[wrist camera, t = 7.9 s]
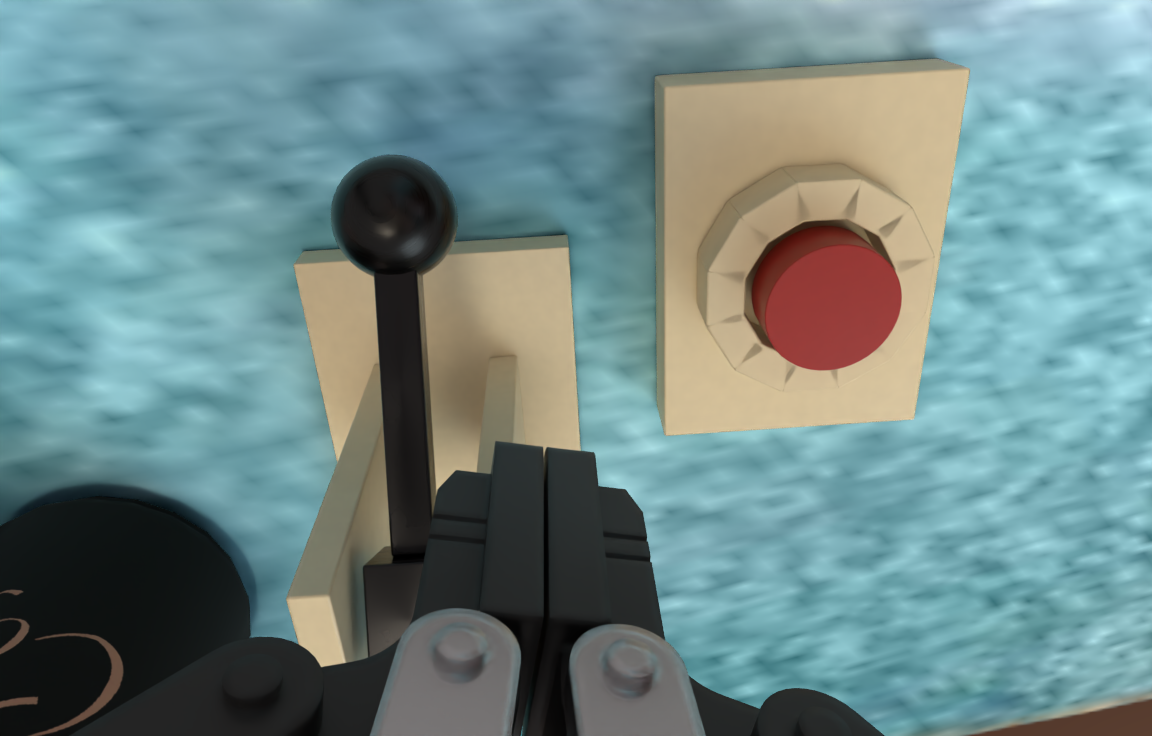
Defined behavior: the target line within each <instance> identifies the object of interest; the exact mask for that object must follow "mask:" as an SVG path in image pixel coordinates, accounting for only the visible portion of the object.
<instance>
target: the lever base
mask: <svg viewBox="0 0 1152 736" xmlns="http://www.w3.org/2000/svg"><path fill="white" fill-rule="evenodd" d="M294 270H295V274H296V279H297V283H298V288H299V292H300V297H301V301H302V306H303V310H304V315H305V319H306V324H307V328H308V333H309V337H310V342H311V346H312V351H313V355H314V360H315V364H316V369H317V373H318V378H319V382H320V387H321V391H322V396H323V400H324V405H325V409H326V414H327V418H328V423H329V427H330V432H331V436H332V441H333V445H334V450H335V454H336V459H337V465H336V467H335V470H334V473H333V475H332V478H331V481H330V483H329V486H328V489H327V491H326V494H325V497H324V499H323V502H322V505H321V507H320V510H319V513H318V515H317V518H316V521H315V523H314V526H313V529H312V531H311V534H310V537H309V539H308V542H307V544H306V547H305V550H304V552H303V555H302V558H301V560H300V563H299V566H298V568H297V571H296V574H295V576H294V579H293V582H292V584H291V587H290V590H289V592H288V595H287V598H286V600H287V604H288V607H289V611H290V615H291V618H292V622H293V625H294V629H295V633H296V637H297V639H298V643H299V645H301V646H302V647H304V648H305V649H307V650H308V651H309V652H310V653H311V654H312V655H313V656H314V657H315V658H316V659H317V661H318V662H319V664H320V666H321V667H324V666H330V665H336V664H341V663H347V662H352V661H357V660H361V659H365V658H367V657H368V649H367V633H366V616H365V600H364V584H363V566H364V565H365V564H366V563H367V562H368V561H369V560H370V559H371V558H373V557H374V556H375V555H376V554H377V553H378V552H379V551H380V550H381V549H382V548H383V547H385V546H391V545H390V529H389V513H388V497H387V480H386V464H385V448H384V432H383V416H382V400H381V384H380V368H379V352H378V336H377V320H376V303H375V287H374V277H373V276H371V275H368V274H366V273H365V272H363V271H361V270H360V269H358V268H357V267H356V266H354V265H353V264H352V263H351V262H350V261H349V260H348V259H347V258H346V257H345V255H344V254H343V253H342V251H341V250H340V249H332V250H316V251H303V252H302V254H301V255H300V256H299V258H298V259H297V260H296V262H295V263H294ZM423 286H424V302H425V318H426V334H427V350H428V366H429V382H430V398H431V413H432V429H433V445H434V461H435V477H436V493H437V490H438V488H439V487H440V486H441V485H442V484H443V483H444V482H445V481H446V480H447V479H448V478H449V477H450V476H451V475H452V474H453V473H454V471H455V470H461V471H469V472H478V473H487V474H491V467H492V460H493V453H494V446H495V441H501V442H509V443H517V444H526V445H534V446H542V447H543V452H544V454H545V450H546V447H552V448H560V449H569V450H577V451H581V448H580V431H579V414H578V397H577V379H576V362H575V345H574V327H573V310H572V293H571V276H570V258H569V244H568V236H567V235H555V236H539V237H523V238H507V239H491V240H475V241H459V242H454V243H453V245H452V247H451V249H450V251H449V252H448V254H447V256H446V257H445V258H444V259H443V261H442V262H441V263H440V264H439V265H438V266H436V267H435V268H434V269H432V270H431V271H429V272H428V273H426V274H424V275H423Z"/></svg>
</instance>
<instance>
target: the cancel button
mask: <svg viewBox="0 0 1152 736" xmlns="http://www.w3.org/2000/svg"><path fill="white" fill-rule="evenodd" d="M901 302H902V292H901V286H900V281H899V279H898V276H897V274H896V272H895V270H894V269H893V267H892V266H891V264H890V263H889V262H888V261H887V260H886V259H885V258H884V257H883V256H882V255H881V254H880V253H879V252H877V251H876V250H875V249H874V248H873V247H872V246H871V245H870V244H869V243H868V242H867V241H866V240H864V239H863V238H862V237H861V236H859V235H858V234H856V233H855V232H852V231H850V230H848V229H845V228H841V227H836V226H815V227H810V228H806V229H803V230H800V231H798V232H795V233H793V234H791V235H789V236H787V237H786V238H784V239H783V240H782V241H780V242H779V243H778V244H777V245H775V246H774V247H773V248H772V249H771V250H770V251H769V252H768V254H767V255H766V256H765V258H764V259H763V260H762V262H761V264H760V265H759V267H758V269H757V272H756V274H755V277H754V281H753V284H752V305H753V309H754V312H755V315H756V317H757V319H758V321H759V323H760V325H761V326H762V328H763V330H764V332H765V333H766V335H767V337H768V339H769V340H770V342H771V344H772V345H773V347H774V348H775V350H776V351H777V352H778V353H779V354H780V355H781V356H782V357H783V358H785V359H786V360H787V361H789V362H791V363H793V364H794V365H797V366H799V367H802V368H806V369H810V370H818V371H823V370H835V369H840V368H844V367H847V366H850V365H853V364H855V363H857V362H859V361H861V360H863V359H864V358H866V357H867V356H869V355H870V354H872V353H873V352H874V351H875V350H876V349H878V348H879V347H880V346H881V345H882V344H883V342H884V341H885V340H886V339H887V338H888V336H889V335H890V333H891V332H892V330H893V328H894V326H895V324H896V322H897V320H898V317H899V314H900V309H901Z"/></svg>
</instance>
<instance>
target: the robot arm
mask: <svg viewBox="0 0 1152 736" xmlns="http://www.w3.org/2000/svg"><path fill="white" fill-rule="evenodd" d="M522 725H523V729H522ZM521 730H522V736H884V735H883V734H882V733H881V732H879V731H878V730H877V729H876V728H875V727H873V726H872V725H871V724H870V723H869V722H867V721H866V720H865V719H864V718H863V717H861V716H860V715H859V714H858V713H856V712H855V711H854V710H853V709H851V708H850V707H849V706H847V705H846V704H844V703H843V702H841V701H839V700H837V699H836V698H833V697H831V696H829V695H827V694H824V693H821V692H818V691H815V690H809V689H801V688H792V689H785V690H782V691H778V692H776V693H774V694H773V695H771V696H770V697H769V698H768V699H766V700H765V702H764V703H763V705H762V706H761V708H760V709H758V708H756V707H753V706H750V705H748V704H745V703H742V702H739V701H737V700H734V699H731V698H729V697H726V696H723V695H721V694H718V693H716V692H714V691H711V690H710V689H708V688H706V687H704V686H702V685H701V684H699V683H698V682H697V681H695V680H694V679H692V678H691V677H690V676H689V675H688V672H687V669H686V667H685V664H684V662H683V660H682V658H681V657H680V655H679V654H678V653H677V651H676V650H675V649H674V648H673V647H672V646H671V645H670V644H669V643H668V642H666V641H665V637H664V631H663V626H662V620H661V614H660V608H659V603H658V597H657V591H656V585H655V580H654V574H653V568H652V563H651V562H650V551H649V545H648V542H647V534H646V528H645V522H644V517H643V512H642V511H641V509H640V508H639V507H638V505H637V504H636V503H635V501H634V500H633V499H632V498H631V496H630V495H629V494H628V492H627V491H626V490H625V489H617V488H609V487H600V486H598V478H597V468H596V458H595V453H594V452H585V451H577V450H569V449H560V448H552V447H546V450H545V454H544V452H543V447H542V446H534V445H526V444H517V443H509V442H501V441H495V446H494V453H493V460H492V467H491V474H487V473H478V472H469V471H461V470H455V471H454V473H453V474H452V475H451V476H450V477H449V478H448V479H447V480H446V481H445V482H444V483H443V484H442V485H441V486H440V487H439V488H438V490H437V495H436V500H435V505H434V511H433V517H432V521H431V526H430V531H429V538H428V542H427V547H426V552H425V557H424V563H423V568H422V573H421V578H420V584H419V589H418V594H417V599H416V604H415V610H414V614H413V618H412V621H411V623H410V625H409V627H408V628H407V629H406V630H405V632H404V633H403V635H402V636H401V637H400V638H399V639H398V640H397V641H396V642H395V643H394V644H392V645H391V646H390V647H388V648H387V649H385V650H383V651H381V652H379V653H377V654H375V655H373V656H370V657H367V658H365V659H361V660H357V661H352V662H347V663H341V664H336V665H330V666H324V667H321V666H320V664H319V662H318V661H317V659H316V658H315V657H314V656H313V655H312V654H311V653H310V652H309V651H308V650H307V649H305V648H304V647H302V646H301V645H299V644H296V643H294V642H292V641H289V640H285V639H282V638H274V637H254V638H246V639H242V640H238V641H234V642H231V643H229V644H226V645H223V646H221V647H219V648H217V649H215V650H214V651H212V652H210V653H208V654H207V655H205V656H203V657H202V658H200V659H198V660H196V661H195V662H193V663H191V664H190V665H188V666H186V667H185V668H183V669H181V670H180V671H178V672H176V673H175V674H173V675H171V676H169V677H168V678H166V679H164V680H163V681H161V682H159V683H158V684H156V685H154V686H153V687H151V688H149V689H147V690H146V691H144V692H142V693H141V694H139V695H137V696H136V697H134V698H132V699H131V700H129V701H127V702H125V703H124V704H122V705H120V706H119V707H117V708H115V709H114V710H112V711H110V712H109V713H107V714H105V715H104V716H102V717H100V718H98V719H97V720H95V721H93V722H92V723H90V724H88V725H87V726H85V727H83V728H82V729H80V730H78V731H76V732H75V733H73V734H71V735H70V736H520V735H521Z"/></svg>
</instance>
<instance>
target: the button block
mask: <svg viewBox="0 0 1152 736" xmlns="http://www.w3.org/2000/svg"><path fill="white" fill-rule="evenodd" d="M969 74H970V69H969V68H967V67H964V66H961V65H957V64H954V63H951V62H948V61H944V60H941V59H938V58H936V59H920V60H903V61H887V62H870V63H854V64H837V65H820V66H804V67H787V68H771V69H754V70H737V71H721V72H704V73H688V74H671V75H657V76H655V209H656V353H657V407H658V411H659V415H660V419H661V423H662V427H663V431H664V434H665V435H666V436H670V435H685V434H700V433H715V432H730V431H745V430H760V429H775V428H791V427H806V426H821V425H836V424H851V423H866V422H881V421H896V420H911V419H914V416H915V410H916V403H917V397H918V391H919V385H920V378H921V372H922V366H923V360H924V354H925V347H926V341H927V335H928V329H929V323H930V316H931V310H932V304H933V298H934V291H935V285H936V279H937V273H938V267H939V260H940V254H941V248H942V242H943V235H944V229H945V223H946V217H947V211H948V204H949V198H950V192H951V186H952V180H953V173H954V167H955V161H956V155H957V148H958V142H959V136H960V130H961V124H962V117H963V111H964V105H965V99H966V92H967V86H968V80H969ZM815 226H836V227H841V228H845V229H848V230H850V231H852V232H855V233H856V234H858V235H859V236H861V237H862V238H863V239H864V240H866V241H867V242H868V243H869V244H870V245H871V246H872V247H873V248H874V249H875V250H876V251H877V252H879V253H880V254H881V255H882V256H883V257H884V258H885V259H886V260H887V261H888V262H889V263H890V264H891V266H892V267H893V269H894V270H895V272H896V274H897V276H898V279H899V281H900V286H901V292H902V302H901V309H900V314H899V317H898V320H897V322H896V324H895V326H894V328H893V330H892V332H891V333H890V335H889V336H888V338H887V339H886V340H885V341H884V342H883V344H882V345H881V346H880V347H879V348H878V349H876V350H875V351H874V352H873V353H872V354H870V355H869V356H867V357H866V358H864V359H863V360H861V361H859V362H857V363H855V364H853V365H850V366H847V367H844V368H840V369H835V370H823V371H818V370H810V369H806V368H802V367H799V366H797V365H794V364H793V363H791V362H789V361H787V360H786V359H785V358H783V357H782V356H781V355H780V354H779V353H778V352H777V351H776V350H775V348H774V347H773V345H772V344H771V342H770V340H769V339H768V337H767V335H766V333H765V332H764V330H763V328H762V326H761V325H760V323H759V321H758V319H757V317H756V315H755V312H754V309H753V305H752V284H753V281H754V277H755V274H756V272H757V269H758V267H759V265H760V264H761V262H762V260H763V259H764V258H765V256H766V255H767V254H768V252H769V251H770V250H771V249H772V248H773V247H774V246H775V245H777V244H778V243H779V242H780V241H782V240H783V239H784V238H786V237H787V236H789V235H791V234H793V233H795V232H798V231H800V230H803V229H806V228H810V227H815Z"/></svg>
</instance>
